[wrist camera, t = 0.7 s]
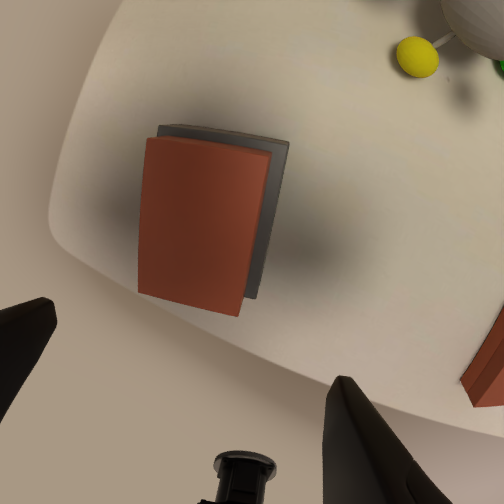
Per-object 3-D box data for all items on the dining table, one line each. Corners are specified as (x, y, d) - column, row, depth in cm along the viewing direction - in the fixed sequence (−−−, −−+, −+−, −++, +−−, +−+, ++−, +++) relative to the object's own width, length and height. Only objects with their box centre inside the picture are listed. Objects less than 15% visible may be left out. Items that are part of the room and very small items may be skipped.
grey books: (262, 272, 22) (255, 303, 18) (166, 251, 22) (143, 276, 18) (289, 142, 18) (289, 145, 15) (180, 124, 18) (155, 124, 15)
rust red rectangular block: (244, 293, 18) (238, 317, 16) (154, 272, 18) (137, 292, 16) (272, 152, 15) (269, 156, 12) (167, 135, 15) (146, 137, 13)
